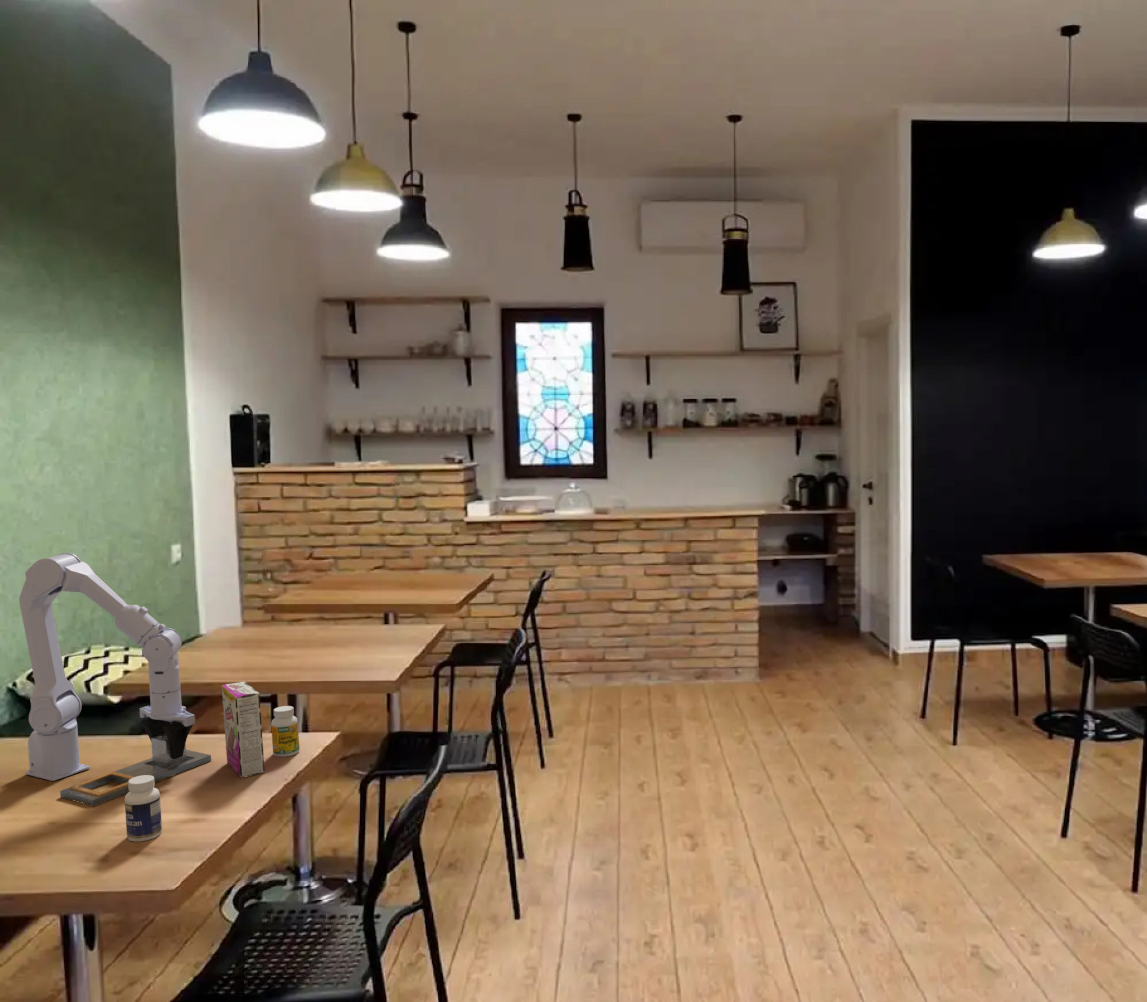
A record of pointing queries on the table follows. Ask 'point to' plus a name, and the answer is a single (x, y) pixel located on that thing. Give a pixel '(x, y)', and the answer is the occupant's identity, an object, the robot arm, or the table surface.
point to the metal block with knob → (164, 753)
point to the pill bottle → (143, 809)
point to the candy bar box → (243, 728)
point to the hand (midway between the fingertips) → (169, 755)
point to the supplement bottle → (285, 732)
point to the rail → (122, 776)
